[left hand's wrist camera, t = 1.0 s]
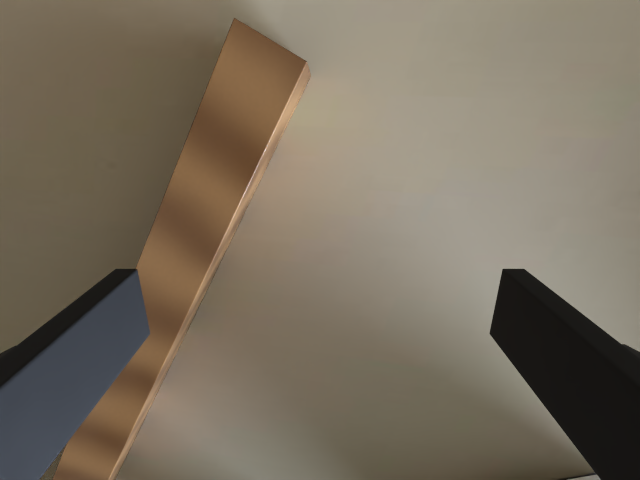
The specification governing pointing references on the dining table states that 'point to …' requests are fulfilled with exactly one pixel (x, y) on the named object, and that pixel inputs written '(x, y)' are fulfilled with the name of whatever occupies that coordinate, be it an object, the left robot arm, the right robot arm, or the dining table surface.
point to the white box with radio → (587, 478)
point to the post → (193, 232)
